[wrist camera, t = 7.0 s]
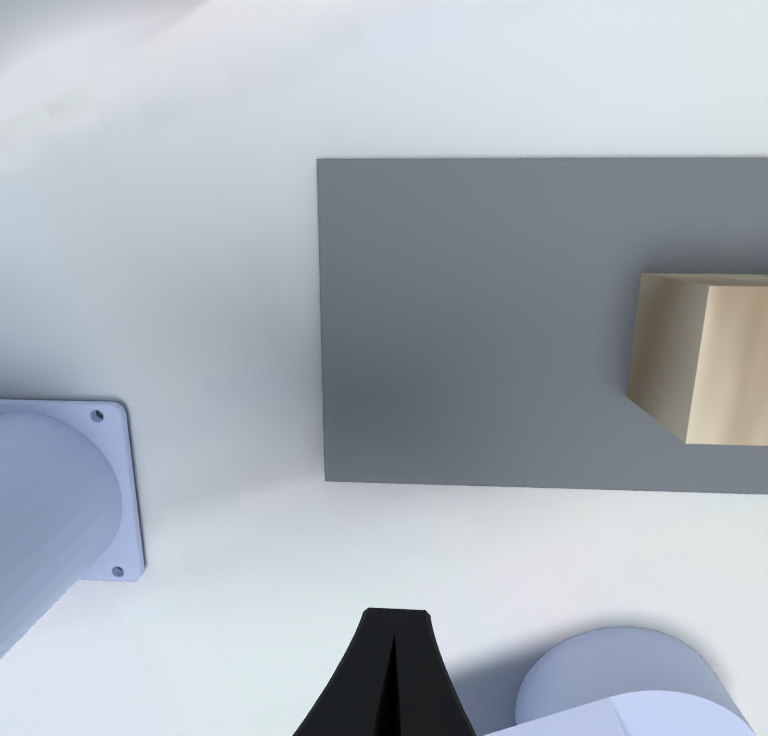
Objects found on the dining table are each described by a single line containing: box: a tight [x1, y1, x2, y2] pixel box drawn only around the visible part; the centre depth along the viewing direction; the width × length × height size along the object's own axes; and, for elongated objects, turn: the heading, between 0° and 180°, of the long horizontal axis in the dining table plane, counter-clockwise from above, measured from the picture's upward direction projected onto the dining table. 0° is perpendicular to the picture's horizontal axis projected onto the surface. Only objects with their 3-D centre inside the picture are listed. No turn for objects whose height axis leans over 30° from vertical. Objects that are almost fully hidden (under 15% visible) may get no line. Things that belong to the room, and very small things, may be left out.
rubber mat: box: [317, 158, 768, 495], centre depth 20 cm, size 22×12×1 cm, turn 90°
